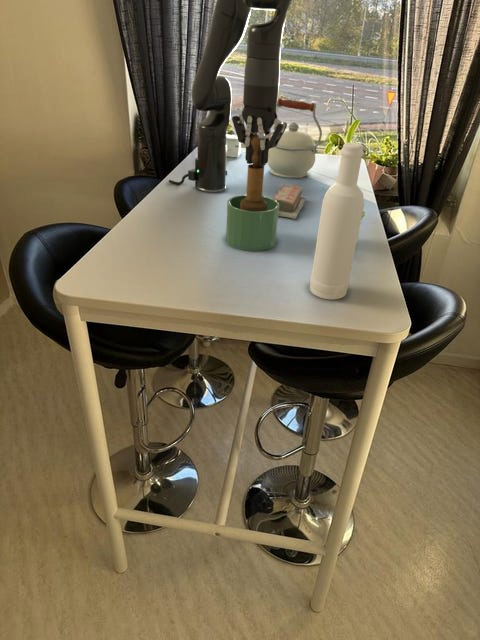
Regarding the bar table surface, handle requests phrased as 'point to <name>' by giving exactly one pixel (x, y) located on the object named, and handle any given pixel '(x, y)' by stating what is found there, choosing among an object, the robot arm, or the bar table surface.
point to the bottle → (338, 228)
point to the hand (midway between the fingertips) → (256, 164)
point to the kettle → (294, 146)
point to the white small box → (233, 146)
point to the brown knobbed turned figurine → (254, 182)
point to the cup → (251, 225)
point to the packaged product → (289, 201)
